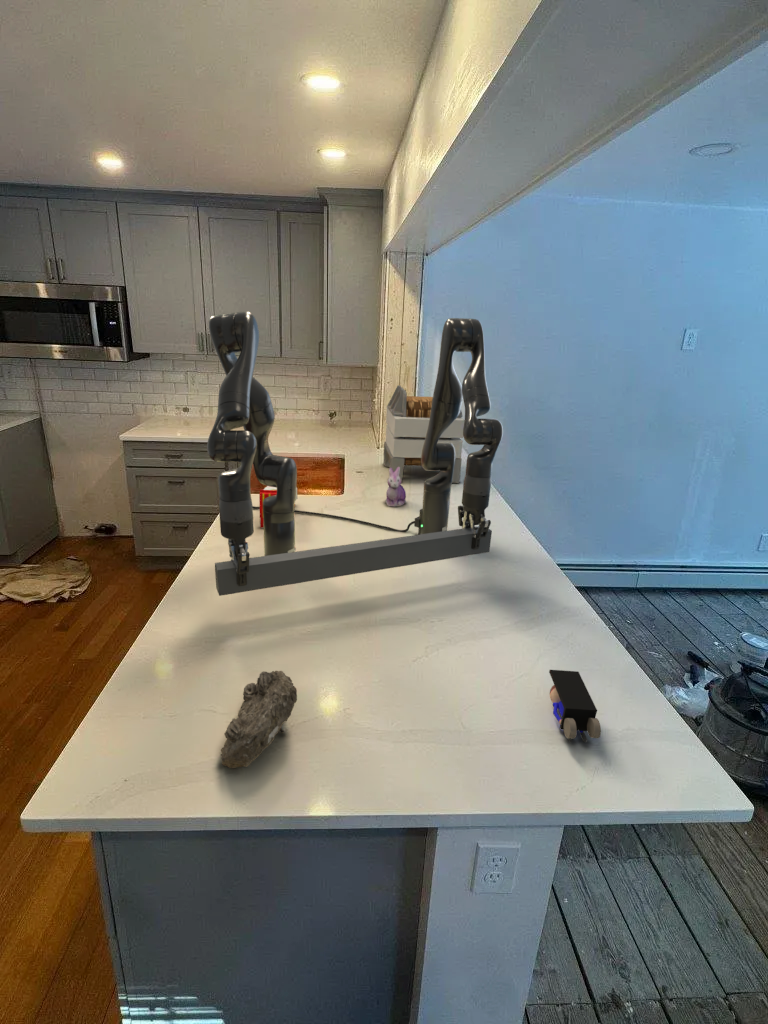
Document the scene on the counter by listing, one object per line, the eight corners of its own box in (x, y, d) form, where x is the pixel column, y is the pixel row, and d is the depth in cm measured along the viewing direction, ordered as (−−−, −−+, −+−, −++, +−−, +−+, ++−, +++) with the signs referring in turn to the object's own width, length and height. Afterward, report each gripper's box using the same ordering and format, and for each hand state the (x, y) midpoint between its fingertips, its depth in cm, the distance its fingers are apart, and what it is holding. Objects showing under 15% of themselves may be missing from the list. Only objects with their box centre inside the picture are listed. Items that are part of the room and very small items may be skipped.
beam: (481, 546, 169) (483, 525, 167) (489, 552, 166) (492, 530, 163) (216, 588, 138) (214, 562, 136) (219, 595, 134) (217, 570, 132)
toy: (299, 478, 224) (289, 491, 195) (299, 512, 227) (289, 529, 198) (268, 478, 224) (253, 490, 194) (268, 511, 226) (254, 528, 197)
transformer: (382, 463, 289) (386, 382, 275) (445, 464, 293) (451, 384, 279) (390, 482, 257) (394, 392, 243) (460, 483, 261) (468, 394, 247)
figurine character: (598, 755, 105) (572, 695, 118) (607, 725, 101) (580, 667, 115) (562, 754, 104) (541, 694, 118) (570, 724, 101) (547, 666, 114)
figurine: (390, 508, 224) (392, 471, 219) (379, 500, 233) (380, 465, 228) (411, 505, 229) (413, 469, 223) (399, 498, 237) (401, 463, 232)
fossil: (239, 671, 114) (294, 639, 110) (270, 702, 117) (325, 672, 112) (196, 762, 95) (261, 727, 90) (236, 796, 98) (300, 764, 93)
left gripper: (214, 506, 136) (219, 570, 142) (225, 528, 124) (230, 597, 130) (246, 503, 139) (249, 566, 145) (259, 524, 127) (262, 591, 133)
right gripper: (451, 483, 163) (446, 537, 169) (479, 499, 151) (472, 557, 157) (473, 480, 166) (468, 534, 172) (502, 496, 154) (495, 553, 160)
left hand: (240, 580), depth 138 cm, fingers closed on beam, 4 cm apart
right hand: (470, 545), depth 164 cm, fingers closed on beam, 4 cm apart
